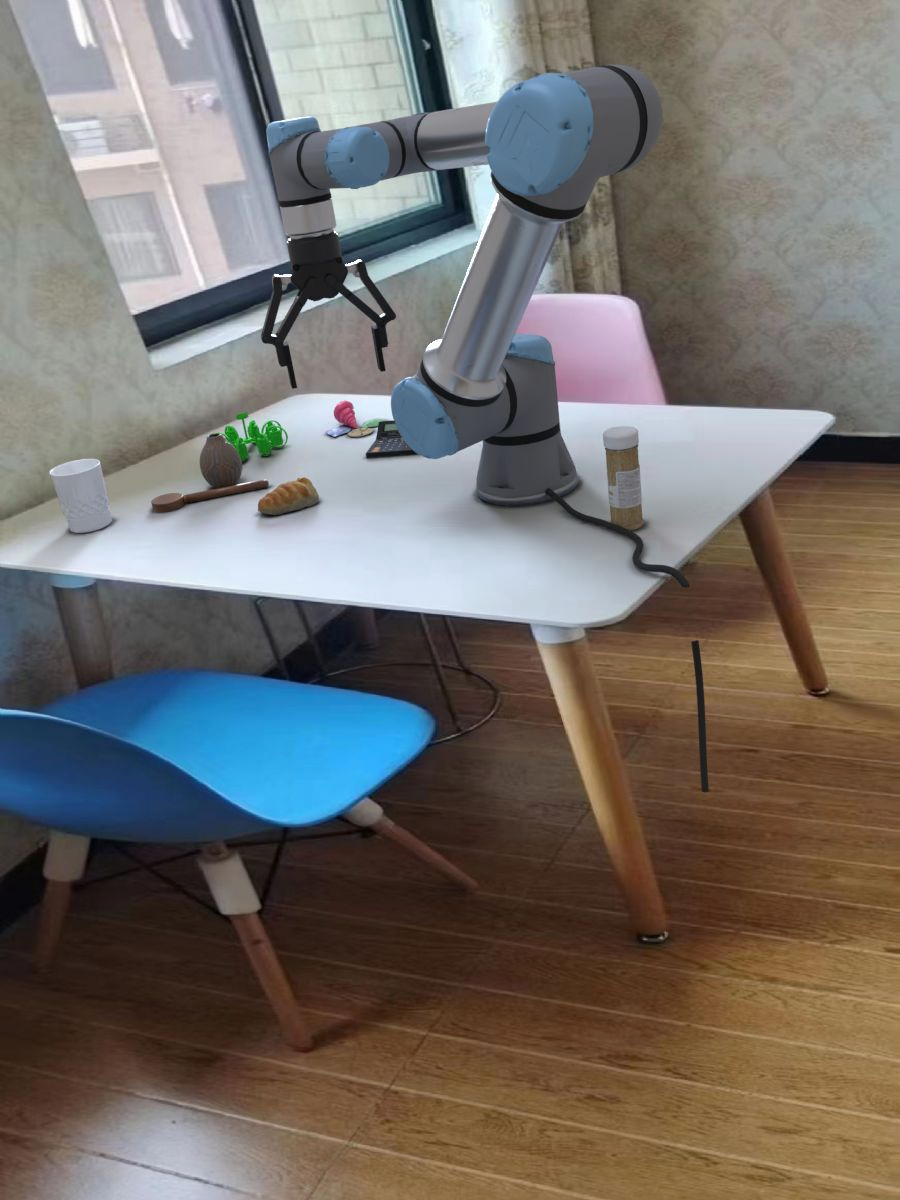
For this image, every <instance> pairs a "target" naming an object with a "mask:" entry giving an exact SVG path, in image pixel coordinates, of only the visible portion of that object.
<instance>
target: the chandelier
mask: <svg viewBox="0 0 900 1200" xmlns="http://www.w3.org/2000/svg"><path fill="white" fill-rule="evenodd" d="M249 417H250V416H249V413H247V412H243V413H239V414H236V415H235V418H236V420H238V421H239V420H241V422H242V423H241V424H242V427H243V431H244V435H245V437H244V438H242V437H240V436H239V432H238V431H237V429H236V427H234V426H233V425H231V424H229V425H226V426H225V427H224V433H223V432H220V431H216V432H215V433H221V434H222V436H223V437H224V438H225V439H226V440H227V441H228V442H230V443H231V444H232V445H233V446H234V447H235V448H236V450H237V451H238V453H239V455H240V458H241V462H242V463H243V462H245V461H246V459H247V458H248V457H249V452H248V447H247V445H248V444H255V446H256V448H257V450H258V451H257V452H258V453H259V454H260V455H262V456H263V457H268V456H270V455H271V454H272V449H275V450H277V449H281V448H284V447H285V446H286V445H287V443H288V439H289V436H288V433H287V431H286V429H285V428H283V427H282V426H281V424H280V423H279V422H278V421H277V420H273V419H270V420H267V421H265V422H264V423H263V424H262V427H261V430H260V428H259V426H258V424H257V422H256V420H254V419H252V420H249V423H248V425H247V428H246V423H245V419H248V418H249ZM273 422H274V423H273ZM276 424H277V425H276ZM260 431H261V432H260ZM283 433H284V434H285V443H284V439H283V435H282V434H283Z"/></svg>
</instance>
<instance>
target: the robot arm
mask: <svg viewBox="0 0 900 1200" xmlns="http://www.w3.org/2000/svg"><path fill="white" fill-rule="evenodd" d="M663 113H664V109H663V104H662V99H661V96H660V94H659V92H658V90H657V88H656V86H655V85H654V83H653V82H652V81H651V80H650V79H649V78H648V77H647V76H646V75H645V74H644V73H643V72H642V71H639V70H638V69H636V68H634V67H632V66H629V65H624V64H603V65H598V66H593V67H588V68H583V69H578V70H573V71H568V72H562V73H560V72H545V73H542V74H539V75H536V76H532V77H531V78H530V79H526V80H523V81H520V82H517V83H516V84H514V85H513V86H511V87H510V88H508V89H507V90H506V91H505V92H504V93H503V94H502V95H501V96H500V97H499V99H498V100H497V101H493V102H492V101H491V102H488V103H487V102H486V103H482V104H481V103H480V104H474V105H468V106H461V107H456V108H450V109H443V110H437V111H432V112H427V111H426V112H420V113H415V114H411V115H408V116H402V117H397V118H392V119H386V120H380V121H376V122H369V123H364V124H359V125H353V126H346V127H342V128H335V129H329V130H323V131H322V130H321V128H320V125H319V120H318V119H317V118H316V117H314V116H301V117H297V118H289V119H284V120H277V121H272V122H271V123H269V124H268V125H267V127H266V130H265V132H266V133H265V134H266V141H267V146H268V154H267V155H268V158H269V161H270V165H271V170H272V175H273V181H274V185H275V189H276V194H277V195H276V196H277V199H278V202H279V209H280V215H281V221H282V225H283V231H284V235H286V236H288V237H289V238H288V239H287V241H286V246H287V252H288V256H289V257H288V258H289V262H290V268H291V271H290V274H283V275H279V274H278V273H277V274H276V273H274V274H273V275H272V276H271V284H272V285H271V286H272V292H271V296H270V299H269V303H268V307H267V311H266V314H265V319H264V322H263V327H262V329H261V334H260V339H261V341H262V343H263V344H265V345H273V346H274V347H275V353H276V358H277V363H278V365H279V366H280V368H284V367H286V368H287V374H288V379H289V384H290V387H291V389H293V390H294V389H298V384H297V380H296V374H295V369H294V365H293V361H292V354H291V348H290V345H289V343H288V341H285V340H286V338H287V337H288V335H289V334H290V332H291V329H293V328H292V327H294V324H295V322H296V321H297V318H298V317H299V315H300V313H301V311H302V310H303V308H304V307H305V305H306V303H307V302H308V300H309V301H312V302H319V301H321V300H323V299H335V297H338V295H339V294H340V295H342V296H343V297H344V299H346V300H348V301H349V302H350V303H351V304H352V305H353V306H354V307H356V308H357V309H358V310H359V311H360V312H361V313H363V314H364V315H366V317H367V318H369V320H371V321H373V323H375V324H374V325H370V329H371V336H372V340H373V341H372V342H373V347H374V352H375V359H376V365H377V369H378V370H379V371H380V373H383V372H386V371H387V370H386V365H385V359H384V352H383V349H384V348H388V346H389V340H388V333H387V328H386V327H387V324H388V323H390V322H391V321H394V320H396V318H397V314H396V313H395V311H394V309H392V307H391V305H390V304H389V302H388V301H387V300H386V298H385V296H384V295H383V294H382V293H381V291H380V290H379V288H378V287H377V286H376V283H374V281H373V280H372V279H371V277H370V276H369V272H368V269H367V265H366V263H365V262H364V260H362V259H356V260H355V261H354V262H351V263H348V264H345V262H344V259H343V254H342V248H341V243H340V237H339V233H337V231H335V230H334V229H335V228H336V227H337V220H336V215H335V209H334V205H333V204H334V203H333V198H332V197H333V196H332V193H331V190H332V189H350V190H358V189H361V188H367V187H371V186H374V185H377V184H378V183H379V182H381V181H382V182H383V181H386V180H390V179H394V178H397V177H404V176H408V175H413V174H419V173H426V172H436V171H441V170H452V169H460V168H469V167H478V166H489V168H490V182H491V185H492V187H493V188H494V190H495V192H496V194H495V197H494V200H493V203H492V205H491V207H490V208H491V209H490V211H489V213H488V216H487V219H486V221H485V224H484V226H483V229H482V232H481V233H480V237H479V240H478V243H477V245H476V248H475V250H474V253H473V255H472V258H471V261H470V264H469V267H468V269H467V271H466V274H465V277H464V280H463V282H462V284H461V288H460V290H459V293H458V295H457V298H456V301H455V303H454V306H453V309H452V311H451V314H450V316H449V318H448V320H447V321H448V322H447V324H446V327H445V330H444V333H443V334H442V337H441V338H440V339H437V340H435V341H432V343H430V344H429V345H428V346H427V347H426V349H425V350H424V352H423V355H422V358H421V361H420V363H419V365H418V368H417V371H416V373H415V374H414V375H413V376H408V377H404V378H403V379H402V380H401V381H399V382H398V383H396V384H395V386H394V388H393V389H392V392H391V395H390V409H391V416H392V419H393V420H394V421H395V423H396V427H397V429H398V431H399V433H400V435H401V436H402V438H403V439H404V441H405V442H406V443H407V445H408V446H409V447H410V448H411V449H412V450H413V451H415V452H416V453H417V454H416V455H419V456H421V457H423V458H425V459H428V460H439V459H442V458H444V457H449V456H450V457H451V456H453V455H456V454H457V453H458V452H460V451H463V450H465V449H467V448H469V447H472V446H474V445H477V444H478V443H481V442H482V447H481V451H480V458H479V463H478V468H477V473H476V479H475V481H476V482H475V487H476V493H477V496H478V497H479V499H480V500H482V501H484V502H486V503H489V504H493V505H498V506H527V505H528V506H529V505H535V504H540V503H546V502H550V501H553V500H554V502H556V503H557V504H558V505H559V506H560V507H561V508H563V510H564V511H565V512H566V513H568V514H569V515H570V516H572V517H574V518H576V519H578V520H580V521H582V522H585V523H588V524H592V525H595V526H598V527H602V528H605V529H607V530H610V531H612V532H614V533H617V534H621V535H623V536H624V537H627V538H628V539H631V540H632V541H634V543H635V549H634V551H633V554H632V559H631V560H632V563H633V565H634V566H635V568H637V569H638V570H640V571H642V572H646V573H647V572H648V573H662V574H667V575H670V576H672V577H673V578H674V579H676V580H677V581H678V583H679V584H680V586H681V587H682V588H685V589H686V588H690V587H691V585H690V583H689V581H688V579H687V578H686V577H685V575H684V574H683V573H682V572H681V571H680V570H678V569H676V568H675V567H673V566H670V565H666V564H653V563H652V564H651V563H645V562H643V561H642V560H641V554H642V552H643V550H644V540H643V539H642V538H641V536H639V535H638V534H637V533H636V532H634V531H633V530H628V529H626V528H623V527H621V526H618V525H615V524H613V523H610V522H611V521H608V520H605V519H602V518H598V517H594V516H591V515H588V514H585V513H582V512H580V511H578V510H577V509H575V508H573V507H572V506H571V505H570V504H569V503H568V502H567V501H566V500H565V499H563V496H566V495H567V494H569V493H570V492H572V491H573V490H574V489H576V487H577V486H578V483H579V481H578V472H577V468H576V465H575V463H574V460H573V458H572V456H571V454H570V451H569V449H568V446H567V445H566V443H565V440H564V438H563V436H562V431H561V423H560V410H559V409H560V408H559V399H558V398H559V397H558V388H557V376H556V362H555V360H554V353H553V347H552V344H551V342H550V341H549V340H548V339H547V337H545V336H542V335H540V334H539V335H538V334H532V333H531V334H530V333H517V331H518V329H519V326H520V324H521V321H522V319H523V317H524V315H525V313H526V310H527V308H528V306H529V304H530V301H531V300H532V296H533V294H534V292H535V291H536V288H537V285H538V283H539V281H540V278H541V276H542V274H543V271H544V269H545V267H546V265H547V263H548V260H549V258H550V255H551V254H552V251H553V249H554V247H555V244H556V242H557V239H558V237H559V236H560V233H561V231H562V228H563V226H564V224H565V223H567V222H570V221H574V220H577V219H578V218H580V216H581V215H582V214H583V212H584V210H585V208H586V207H587V204H588V202H589V200H590V197H591V196H592V193H593V191H594V189H595V186H596V184H597V183H598V181H599V180H600V179H601V178H603V177H608V176H611V175H614V174H618V173H621V172H624V171H628V170H629V169H631V168H633V167H635V166H637V165H638V164H640V163H641V162H642V161H643V160H644V159H646V158H647V157H648V155H649V154H650V153H651V152H652V150H653V149H654V148H655V146H656V144H657V142H658V140H659V137H660V135H661V131H662V128H663V127H662V126H663V120H664V114H663ZM349 273H351V274H352V275H353V276H354V278H359V280H360V281H361V283H362V284H363V286H364V287H365V288H366V290H367V291H368V292H369V294H370V295H371V297H372V298H373V300H374V301H375V303H376V304H377V306H378V307H379V308H380V310H381V311H382V312H383V313H381V314H378V313H377V312H376V311H375V310H374V309H373V308H371V307H370V306H369V305H368V304H367V303H366V302H364V301H363V300H362V299H361V298H360V297H359V296H357V295H356V294H355V293H354V292H353V291H352V290H350V289H349V287H347V286H345V284H344V283H345V282H346V279H347V277H348V275H349ZM289 284H292V286H294V287H295V288H296V289H297V290H298V292H297V293H296V295H295V297H294V300H293V302H292V303H291V305H290V307H289V309H288V311H287V313H286V315H285V316H284V318H283V320H282V322H281V323H280V325H279V327H278V328H277V330H276V332H275V334H273V331H274V327H275V323H276V320H277V316H278V312H279V308H280V305H281V301H282V297H283V292H284V291H286V290H287V289H288V286H289ZM690 643H691V650H692V658H693V666H694V676H695V688H696V689H695V691H696V705H697V724H698V725H697V726H698V727H697V728H698V750H699V751H698V752H699V770H700V771H699V772H700V784H701V793H705V794H706V793H709V791H710V790H709V789H710V788H709V774H708V773H709V772H708V771H709V770H708V753H707V727H706V726H707V725H706V724H707V723H706V705H705V704H706V703H705V687H704V686H705V685H704V676H703V665H702V658H701V657H702V656H701V648H700V641H699V640H698V639H697V640H693V641H690Z"/></svg>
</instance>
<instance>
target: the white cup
mask: <svg viewBox="0 0 900 1200" xmlns="http://www.w3.org/2000/svg"><path fill="white" fill-rule="evenodd" d="M48 474H49V476H50V479H51V482H52V486H53V488H54V492H55V494H56V497H57V499H58V503H59V505H60V508H61V510H62V513H63V515H64V517H65V519H66V522H67V526H68V528H69V531H70V532H72V533H74V534H85V533H90V532H91V533H92V532H95V531H98V530H101V529H103V528H106V527H107V526H109V525H110V524H111V523H112V522H113V518H112V514H111V509H110V502H109V495H108V492H107V485H106V483H105V478H104V473H103V470H102V465H101V461H100V460H99V459H97V458H82V459H81V458H80V459H75V460H71V461H67V462H64V463H61V464H59V465H56V466H54V467H53V468H51V469H50V470H49V472H48Z"/></svg>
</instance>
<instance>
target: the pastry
mask: <svg viewBox="0 0 900 1200" xmlns="http://www.w3.org/2000/svg"><path fill="white" fill-rule="evenodd" d="M319 498H320V495H319V493H318V491H317V488H316V487H315V486H314V485H313V482H312V481H311V479H309V478H308V477H306V476H303V477H298V478H297V479H296V480H291V481H286V482H284V483H281V484H279V485H277V486H276V487H275V488H274V489H273V490H272V491H270V492H268V493H266V494H265V495H264V496H263V497H261V499H259V500H258V503H257V511H258V512H259V513H262V514H265V515H272V516H273V515H274V516H276V515H277V516H280V515H282V514H285V513H286V514H287V513H291V512H295V511H299V510H302V509H304V508H305V507H306V508H307V507H308V508H309V507H312V506H314V505H315V504H317V503H318V502H319V501H318V500H319Z"/></svg>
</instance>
